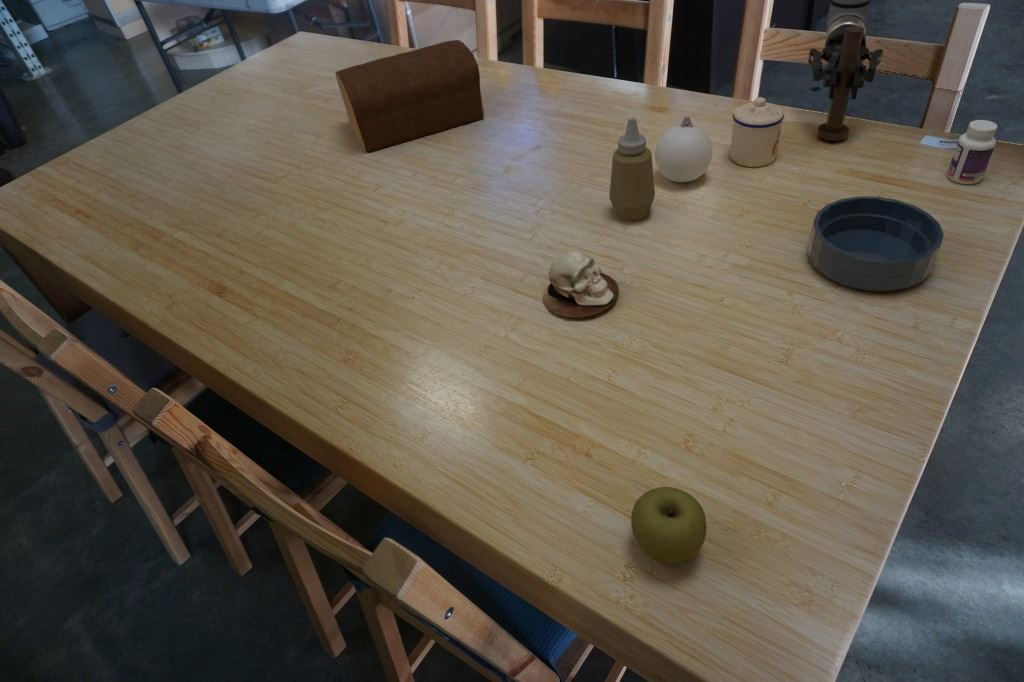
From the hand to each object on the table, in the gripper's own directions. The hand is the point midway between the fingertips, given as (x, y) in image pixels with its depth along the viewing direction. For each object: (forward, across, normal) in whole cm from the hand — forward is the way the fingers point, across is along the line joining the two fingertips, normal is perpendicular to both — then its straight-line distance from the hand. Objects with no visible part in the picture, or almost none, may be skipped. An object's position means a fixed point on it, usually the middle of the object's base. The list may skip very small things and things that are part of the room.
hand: (843, 91), depth 121 cm
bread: (-3, +91, -12) cm, 92 cm away
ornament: (+14, +26, -12) cm, 32 cm away
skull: (+52, +36, -12) cm, 64 cm away
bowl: (+34, -6, -12) cm, 37 cm away
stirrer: (-5, 0, -11) cm, 12 cm away
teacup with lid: (+3, +14, -12) cm, 19 cm away
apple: (+91, +15, -12) cm, 93 cm away
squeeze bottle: (+27, +33, -12) cm, 44 cm away
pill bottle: (+7, -22, -12) cm, 26 cm away
